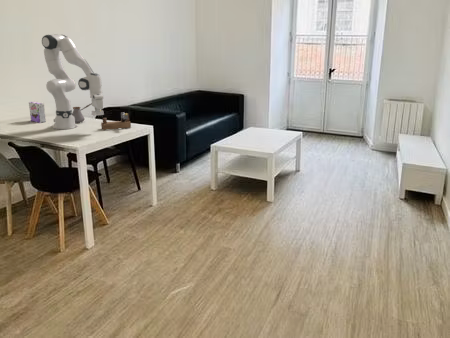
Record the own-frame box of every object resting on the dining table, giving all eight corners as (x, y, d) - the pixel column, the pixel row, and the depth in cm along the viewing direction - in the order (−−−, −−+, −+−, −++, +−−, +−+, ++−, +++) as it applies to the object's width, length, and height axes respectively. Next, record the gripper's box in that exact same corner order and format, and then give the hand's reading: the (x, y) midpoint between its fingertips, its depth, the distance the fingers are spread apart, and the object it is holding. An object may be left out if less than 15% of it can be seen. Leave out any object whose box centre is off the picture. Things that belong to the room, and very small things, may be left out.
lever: (124, 124, 323) (124, 113, 320) (120, 121, 333) (120, 111, 331) (128, 123, 324) (128, 113, 322) (124, 120, 335) (124, 110, 332)
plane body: (101, 128, 329) (100, 115, 325) (128, 126, 340) (127, 113, 336) (103, 130, 323) (102, 116, 320) (130, 128, 334) (130, 114, 330)
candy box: (30, 120, 352) (28, 101, 347) (37, 119, 356) (34, 101, 351) (39, 123, 344) (37, 103, 339) (46, 122, 349) (44, 102, 344)
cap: (92, 114, 312) (91, 110, 311) (102, 114, 316) (102, 109, 315) (93, 115, 309) (92, 111, 308) (103, 114, 313) (103, 110, 312)
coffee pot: (75, 124, 343) (73, 106, 339) (68, 122, 350) (66, 104, 346) (97, 120, 358) (96, 103, 354) (90, 119, 366) (89, 102, 361)
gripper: (88, 93, 315) (90, 111, 319) (95, 97, 298) (96, 115, 303) (97, 93, 318) (98, 111, 322) (103, 96, 302) (105, 115, 306)
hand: (97, 113), depth 312 cm, fingers closed on cap, 4 cm apart
